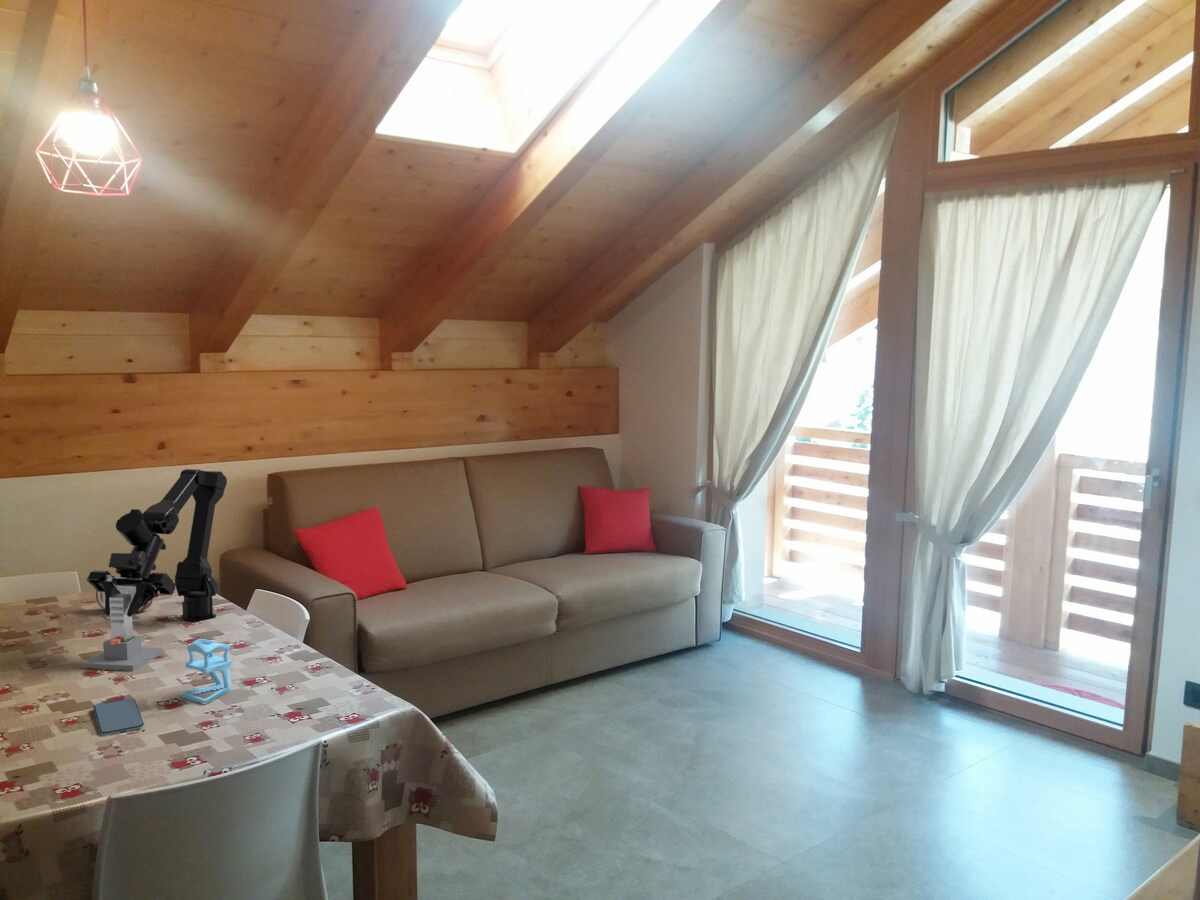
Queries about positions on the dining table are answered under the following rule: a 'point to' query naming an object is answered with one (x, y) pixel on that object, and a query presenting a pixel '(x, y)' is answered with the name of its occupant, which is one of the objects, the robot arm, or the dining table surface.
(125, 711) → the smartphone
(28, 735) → the dining table surface
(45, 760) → the dining table surface
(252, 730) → the dining table surface
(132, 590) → the tin
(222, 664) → the light blue holder stand
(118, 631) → the column
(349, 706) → the dining table surface
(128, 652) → the base
